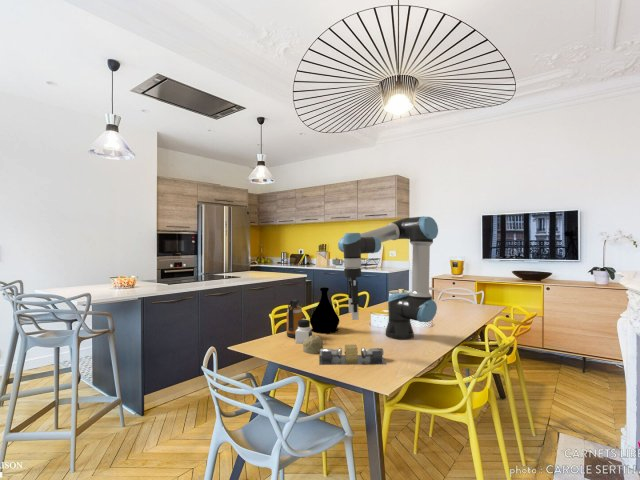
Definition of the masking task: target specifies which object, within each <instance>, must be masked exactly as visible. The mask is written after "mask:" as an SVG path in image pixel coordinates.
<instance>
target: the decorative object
mask: <svg viewBox="0 0 640 480" xmlns="http://www.w3.org/2000/svg"><path fill="white" fill-rule="evenodd" d="M323 343H324V341H323V340H322V339H321V337H320V336H319V335H314V334H312V336H310V337H308V338H306V340H305V341H304V343H303V344H302V352H304V353H306V354H309V355H310V354H320V349H324V344H323Z"/></svg>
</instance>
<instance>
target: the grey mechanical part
mask: <svg viewBox="0 0 640 480" xmlns="http://www.w3.org/2000/svg"><path fill="white" fill-rule="evenodd" d="M360 355H361V356H362V358H363V359H364V358H365V357H368V356H370V359H371V360H372V361H382V357H383V356H384V349H383V348H379V347H378V348H367V349H366V348H365V347H361V348H360Z"/></svg>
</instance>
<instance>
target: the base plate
mask: <svg viewBox="0 0 640 480" xmlns="http://www.w3.org/2000/svg"><path fill="white" fill-rule="evenodd" d="M318 357H319V361H318V363H319V366H322V365H323V366H329V365H330V366H334V365H335V366H337V365H339V366H340V365H343V366H344V365H347V366H348V365H349V366H350V365H351V366H352V365H355V366H357V365H359V366H360V365H361V366H362V365H365V366H366V365H367V366H368V365H372V366H375V365H377V366H378V365H387V362H386V361H385V358H384V357H383V356H382V361H372V360H371V359H370V356H368V357H365V358H364V359H363V358H362V356H361V354H358V362H346V361H345V354H342V357H341V359H339V357H333V359H332V361H322V356H320V354H319V355H318Z"/></svg>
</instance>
